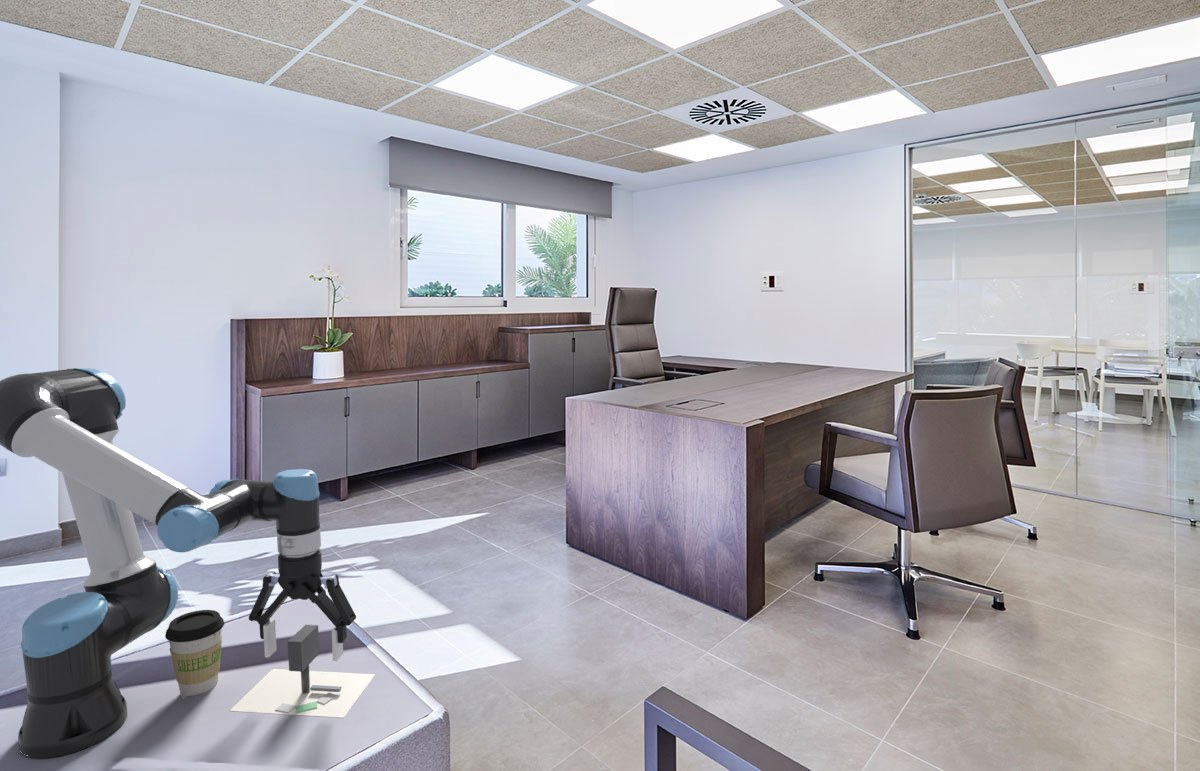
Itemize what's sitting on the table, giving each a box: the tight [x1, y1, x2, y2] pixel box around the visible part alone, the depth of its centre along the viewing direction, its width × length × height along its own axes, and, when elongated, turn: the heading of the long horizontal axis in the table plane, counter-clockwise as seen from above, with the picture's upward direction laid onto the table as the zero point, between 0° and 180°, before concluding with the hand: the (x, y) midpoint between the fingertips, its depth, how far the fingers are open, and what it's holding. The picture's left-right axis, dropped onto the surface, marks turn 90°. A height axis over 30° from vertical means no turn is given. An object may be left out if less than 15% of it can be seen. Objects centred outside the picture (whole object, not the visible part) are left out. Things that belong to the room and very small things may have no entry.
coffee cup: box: [164, 609, 225, 700], centre depth 126 cm, size 10×10×15 cm
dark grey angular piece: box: [287, 624, 341, 693], centre depth 124 cm, size 8×6×12 cm
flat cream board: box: [229, 668, 376, 719], centre depth 125 cm, size 22×14×1 cm, turn 86°
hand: (304, 655), depth 124 cm, fingers open, 13 cm apart
